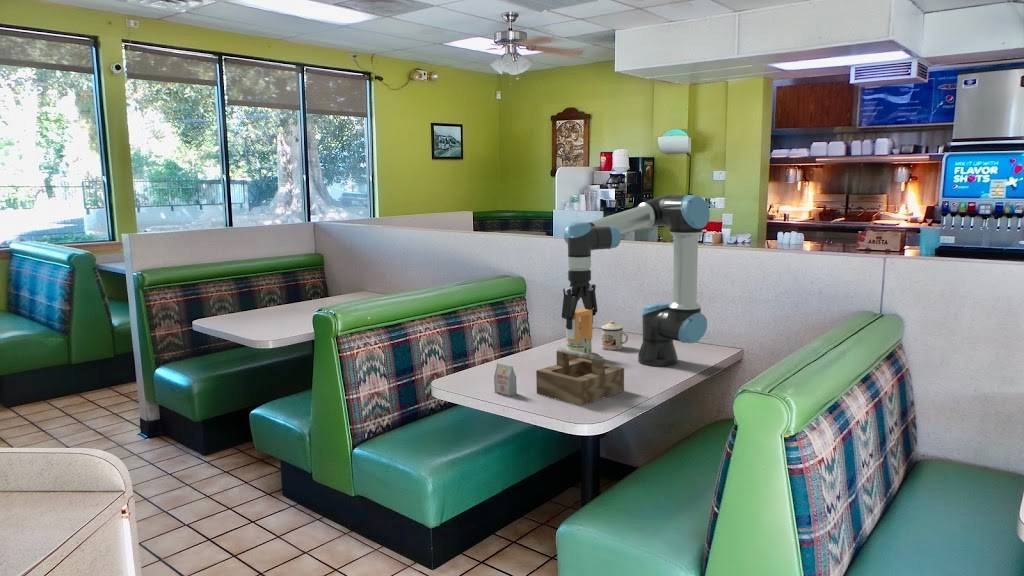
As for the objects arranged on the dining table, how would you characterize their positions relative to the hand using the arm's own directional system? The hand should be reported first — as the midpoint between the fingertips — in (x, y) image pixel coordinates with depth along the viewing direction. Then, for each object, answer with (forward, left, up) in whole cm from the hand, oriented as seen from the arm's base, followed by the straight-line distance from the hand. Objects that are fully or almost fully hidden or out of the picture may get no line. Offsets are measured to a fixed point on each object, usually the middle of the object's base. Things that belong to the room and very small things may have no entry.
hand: (580, 336), depth 236 cm
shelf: (0, 0, -19) cm, 19 cm away
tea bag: (+18, -18, -20) cm, 32 cm away
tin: (-16, -13, -20) cm, 28 cm away
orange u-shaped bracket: (0, 0, -1) cm, 1 cm away
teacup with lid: (-56, -30, -20) cm, 66 cm away
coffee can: (-33, -30, -20) cm, 49 cm away
